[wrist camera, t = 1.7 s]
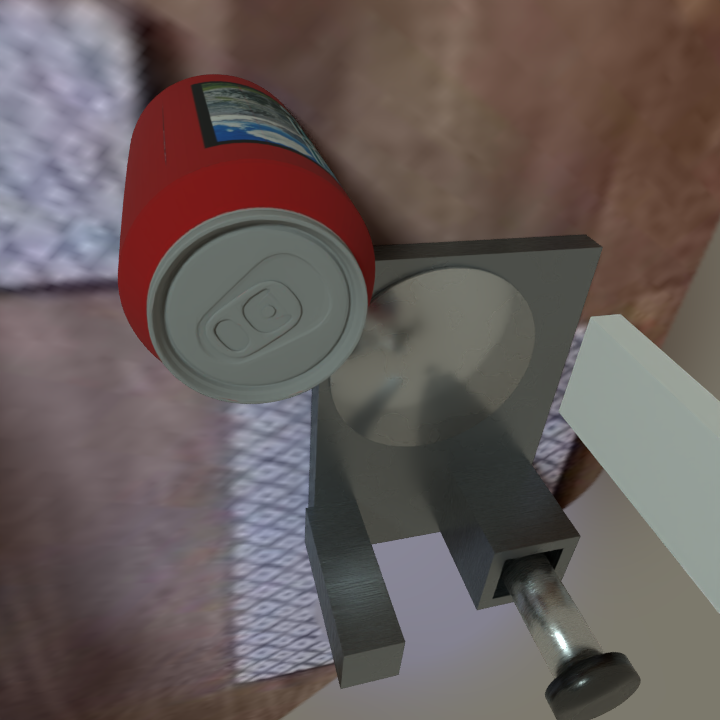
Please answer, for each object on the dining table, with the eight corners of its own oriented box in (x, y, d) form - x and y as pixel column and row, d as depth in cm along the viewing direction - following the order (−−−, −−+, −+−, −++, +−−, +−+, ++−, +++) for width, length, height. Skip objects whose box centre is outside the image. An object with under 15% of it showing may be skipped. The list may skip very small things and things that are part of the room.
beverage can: (334, 180, 26) (437, 332, 16) (206, 269, 27) (235, 462, 17) (237, 28, 22) (301, 117, 12) (88, 139, 22) (42, 302, 13)
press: (299, 537, 39) (339, 703, 31) (305, 249, 27) (371, 394, 19) (504, 501, 43) (588, 641, 34) (585, 234, 31) (740, 350, 23)
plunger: (470, 575, 36) (545, 732, 30) (484, 527, 34) (570, 686, 27) (535, 561, 38) (623, 710, 31) (553, 514, 35) (653, 664, 28)
